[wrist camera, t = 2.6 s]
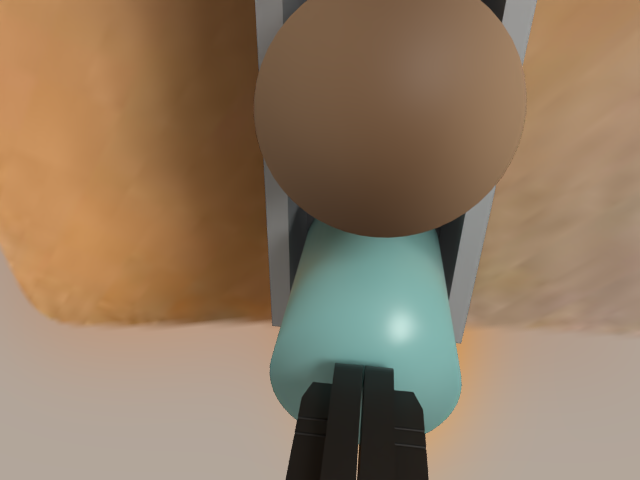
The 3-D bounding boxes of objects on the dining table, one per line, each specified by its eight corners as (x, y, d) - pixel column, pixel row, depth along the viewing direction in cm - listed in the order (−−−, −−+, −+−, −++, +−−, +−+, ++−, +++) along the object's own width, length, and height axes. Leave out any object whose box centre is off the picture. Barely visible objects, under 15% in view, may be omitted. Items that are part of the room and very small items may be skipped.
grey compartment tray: (600, -393, 14) (743, -625, 8) (466, 259, 25) (488, 347, 19) (252, -374, 15) (167, -568, 9) (277, 245, 26) (247, 325, 20)
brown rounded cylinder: (488, -39, 13) (560, -28, 7) (458, 140, 16) (495, 246, 10) (304, -42, 13) (244, -34, 8) (305, 132, 16) (260, 229, 11)
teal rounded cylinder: (448, 195, 17) (477, 319, 11) (430, 308, 19) (446, 454, 14) (305, 186, 17) (265, 301, 12) (306, 298, 20) (273, 434, 14)
